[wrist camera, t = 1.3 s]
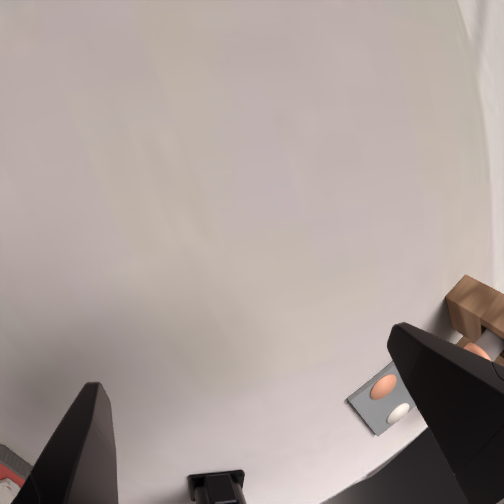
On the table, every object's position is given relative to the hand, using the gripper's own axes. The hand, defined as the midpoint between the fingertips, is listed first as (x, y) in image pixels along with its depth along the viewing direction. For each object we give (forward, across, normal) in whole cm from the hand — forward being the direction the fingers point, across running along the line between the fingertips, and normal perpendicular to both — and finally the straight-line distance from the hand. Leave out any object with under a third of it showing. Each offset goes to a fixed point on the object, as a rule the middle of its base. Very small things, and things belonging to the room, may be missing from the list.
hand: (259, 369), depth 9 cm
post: (+13, -29, +14) cm, 35 cm away
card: (+11, -20, +25) cm, 34 cm away
